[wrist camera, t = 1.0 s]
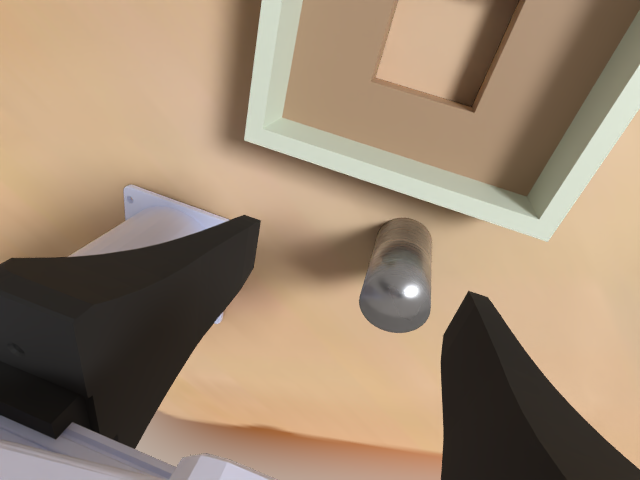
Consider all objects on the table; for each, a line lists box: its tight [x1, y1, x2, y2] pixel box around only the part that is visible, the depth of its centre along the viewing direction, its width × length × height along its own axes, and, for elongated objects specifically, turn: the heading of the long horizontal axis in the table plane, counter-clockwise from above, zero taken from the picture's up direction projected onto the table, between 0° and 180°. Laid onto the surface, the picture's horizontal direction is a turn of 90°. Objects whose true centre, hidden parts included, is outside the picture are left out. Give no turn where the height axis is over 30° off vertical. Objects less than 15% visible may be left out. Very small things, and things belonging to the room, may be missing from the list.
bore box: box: [244, 0, 640, 242], centre depth 15 cm, size 12×14×4 cm
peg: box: [359, 218, 432, 333], centre depth 20 cm, size 3×3×6 cm
